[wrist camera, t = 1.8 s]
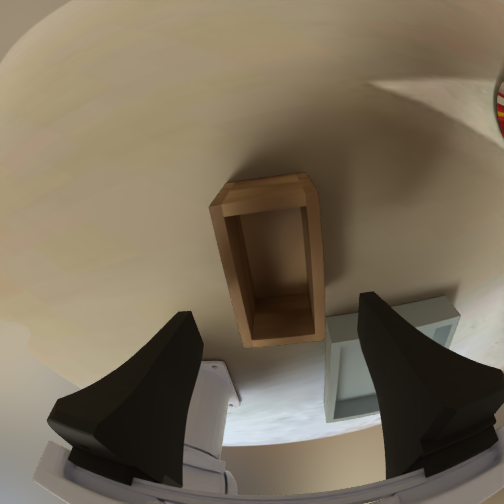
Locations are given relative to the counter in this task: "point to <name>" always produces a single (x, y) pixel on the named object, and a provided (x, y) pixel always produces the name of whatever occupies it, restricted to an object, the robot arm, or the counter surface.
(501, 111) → the soda can
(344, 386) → the grey crate
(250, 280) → the walnut crate
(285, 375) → the counter surface
